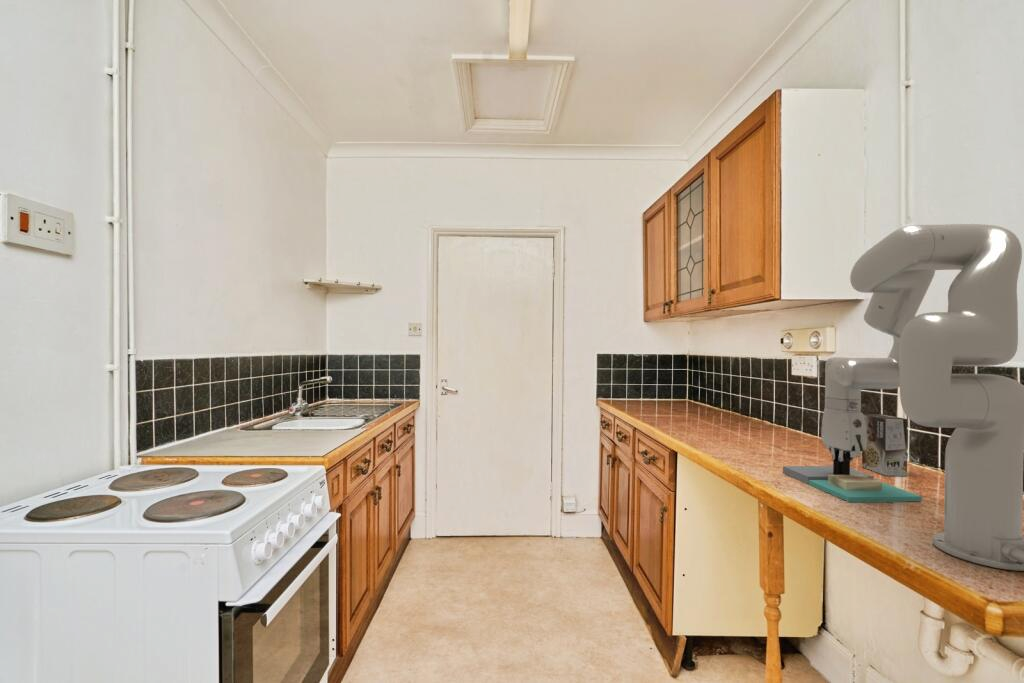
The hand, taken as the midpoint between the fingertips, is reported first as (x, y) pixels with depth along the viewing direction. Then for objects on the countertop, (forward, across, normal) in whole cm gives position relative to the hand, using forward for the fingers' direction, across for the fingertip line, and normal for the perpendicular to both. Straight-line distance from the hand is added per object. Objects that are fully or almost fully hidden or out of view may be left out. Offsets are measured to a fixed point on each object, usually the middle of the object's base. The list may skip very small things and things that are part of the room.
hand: (841, 475), depth 117 cm
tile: (+1, -4, 0) cm, 5 cm away
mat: (+3, -5, -1) cm, 6 cm away
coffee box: (+3, +12, -23) cm, 26 cm away
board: (+3, +6, -1) cm, 7 cm away
